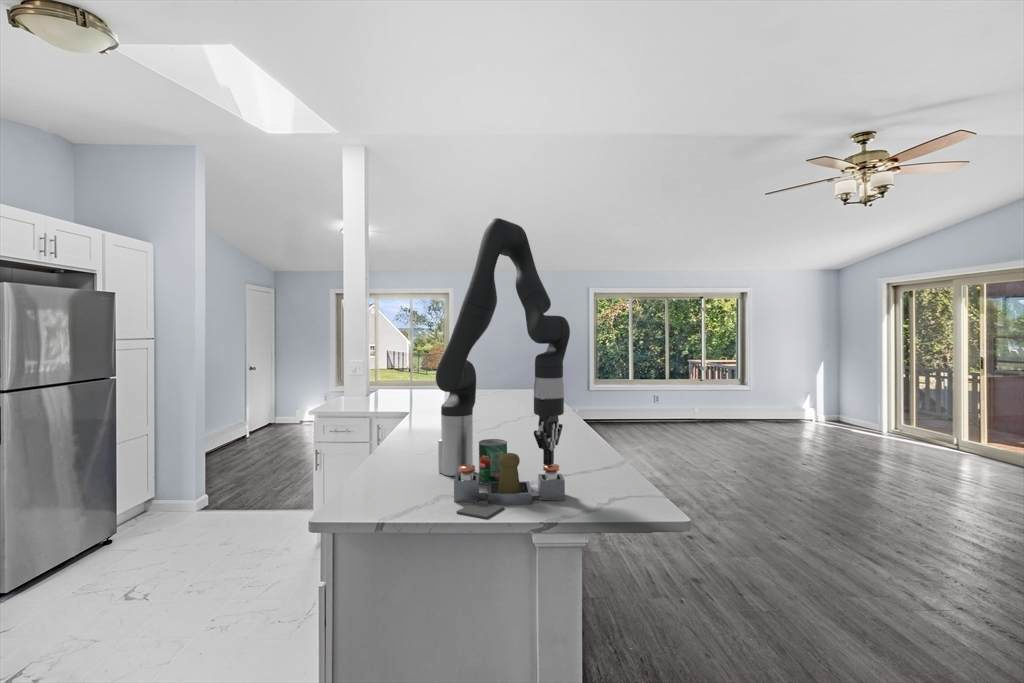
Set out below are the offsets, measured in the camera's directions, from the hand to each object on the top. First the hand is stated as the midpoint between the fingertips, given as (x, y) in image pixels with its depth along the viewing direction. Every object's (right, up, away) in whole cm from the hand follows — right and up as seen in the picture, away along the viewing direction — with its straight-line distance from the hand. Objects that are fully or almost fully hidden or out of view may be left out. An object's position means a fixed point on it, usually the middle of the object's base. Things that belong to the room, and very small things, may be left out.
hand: (548, 464), depth 134 cm
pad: (-16, -8, -10) cm, 21 cm away
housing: (-10, -8, 0) cm, 13 cm away
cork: (-10, -8, 0) cm, 13 cm away
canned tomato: (-14, -8, +15) cm, 22 cm away
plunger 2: (+1, -7, 0) cm, 7 cm away
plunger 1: (-20, -7, -1) cm, 22 cm away
